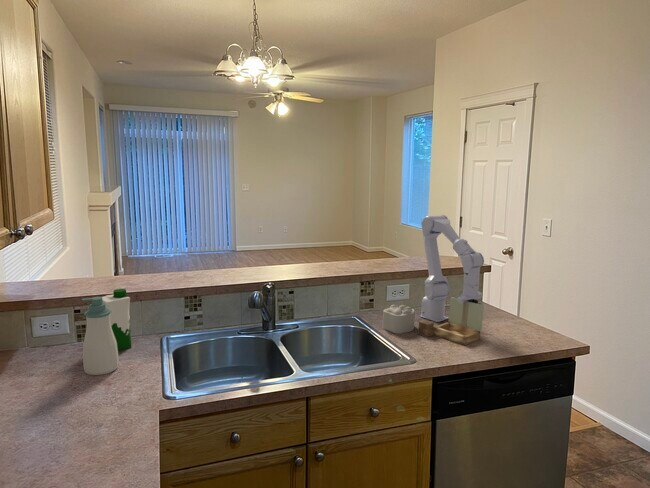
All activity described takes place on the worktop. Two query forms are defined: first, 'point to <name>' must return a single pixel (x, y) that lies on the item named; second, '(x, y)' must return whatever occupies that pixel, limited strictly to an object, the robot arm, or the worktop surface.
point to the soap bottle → (99, 340)
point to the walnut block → (426, 328)
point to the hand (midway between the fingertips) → (468, 317)
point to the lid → (466, 314)
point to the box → (456, 333)
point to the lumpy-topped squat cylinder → (398, 319)
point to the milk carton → (119, 317)
